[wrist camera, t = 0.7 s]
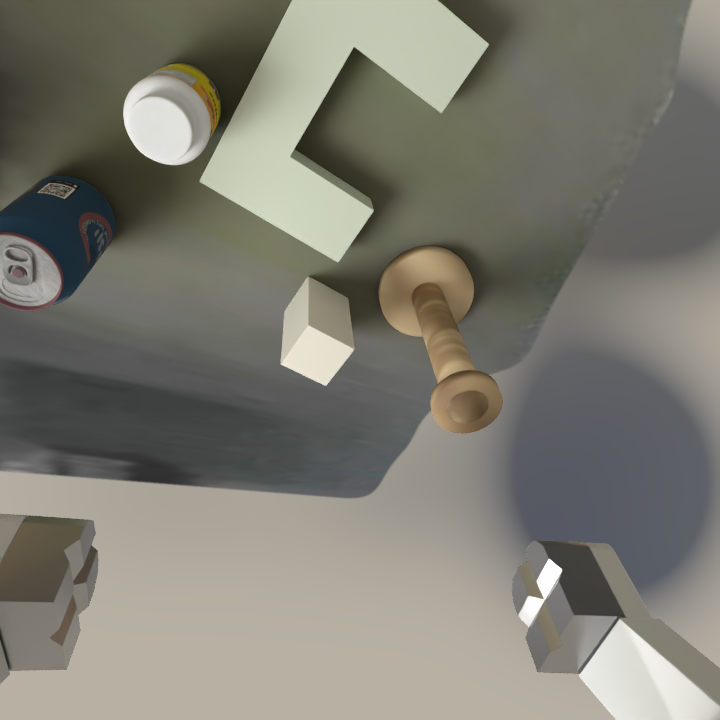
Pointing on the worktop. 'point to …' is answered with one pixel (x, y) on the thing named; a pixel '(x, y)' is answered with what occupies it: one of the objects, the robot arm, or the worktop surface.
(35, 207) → the soda can
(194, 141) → the supplement bottle
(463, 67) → the notched board
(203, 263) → the worktop surface
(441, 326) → the bobbin post
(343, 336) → the block
